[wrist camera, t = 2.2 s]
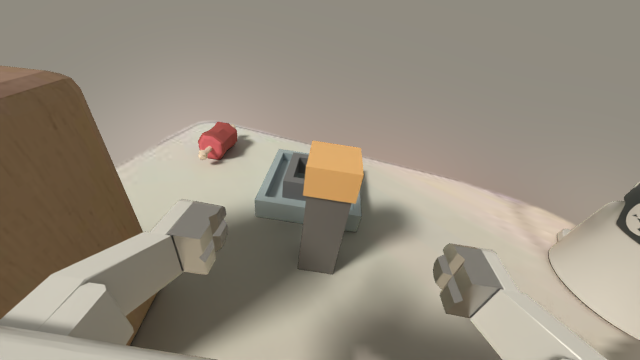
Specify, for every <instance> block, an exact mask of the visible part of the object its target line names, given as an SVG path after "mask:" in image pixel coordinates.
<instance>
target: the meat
mask: <svg viewBox="0 0 640 360" xmlns="http://www.w3.org/2000/svg"><path fill="white" fill-rule="evenodd" d="M236 142H237V130H236V129H235V126H234V125H233V124H231V125H230V124H229V123H223V122H217V123H216V125H215V126H214V127H213V128H212V129H210V130H209V131H207V132H204V133H202V135H201V137H200V139H199V140H198V143H199V148H200V151H199V155H198V157H199V158H200V159H201V160H204V159H206V158H207V157H208V158H211V159H217V160H220V159H221V158H222V157H223V155H224V154H225V152H226V151H227V150H228V149H229V148H231V147H233V146H234V144H235V143H236Z"/></svg>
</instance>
